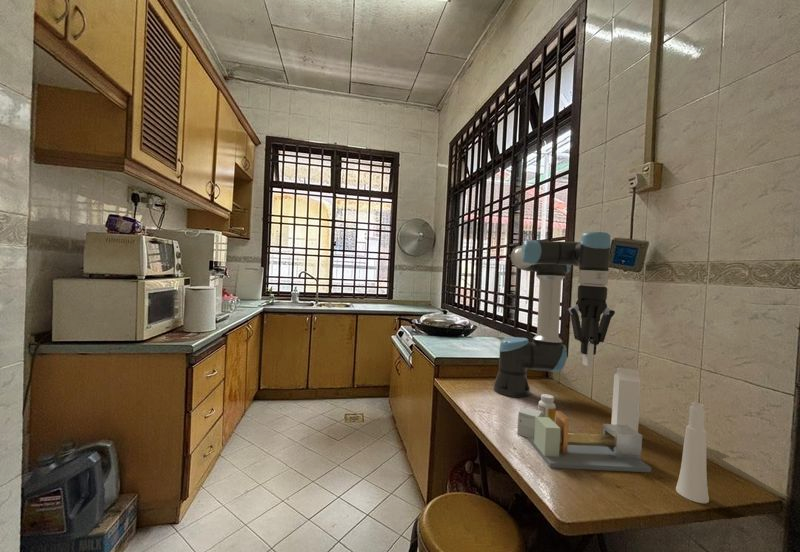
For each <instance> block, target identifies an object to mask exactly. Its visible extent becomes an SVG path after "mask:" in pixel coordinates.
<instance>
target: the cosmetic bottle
mask: <svg viewBox="0 0 800 552" xmlns="http://www.w3.org/2000/svg"><path fill="white" fill-rule="evenodd" d="M704 407H705V405H704V404H703V403H700V402H695V401H691V405H690V406H689V412H688V413H689V414H688V424H687V425H686V426H685V432H684V433H685V434H684V440H683V448H682V457H681V464H680V470H679V476H678V480H677V482H676V487H675V491H676V492H677V493H678V494H679V495H680V496H682V497H683V498H684V499H686V500H688V501H692V502H693V503H698V504H708V503H709V502H710V497H709V489H708V479H707V430H706V429H705V417H706V409H705V408H704Z"/></svg>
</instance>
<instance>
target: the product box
mask: <svg viewBox="0 0 800 552" xmlns="http://www.w3.org/2000/svg"><path fill="white" fill-rule="evenodd" d="M517 414H518V417H517V418H518V419H517V431H516V432H517V433H516V434H517V435H518V436H519V435H520V436H521V437H526V438H527V439H528V438H529V437H533V438H534V435H535V418H536V417H542V411H538V409H535V408H531V407H527V406H522V407H521V409H520V410H519V411H518V413H517Z"/></svg>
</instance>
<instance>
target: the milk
mask: <svg viewBox="0 0 800 552" xmlns="http://www.w3.org/2000/svg"><path fill="white" fill-rule="evenodd" d="M641 384H642V382H641V379H640V377H639V370H638V369H634V368H626V367H624V368H623V367H617V369H616V372H615V374H613V390H612V403H611V404H612V405H611V407H612V409H611V422H610V424H615V425H627V426H629V427H630V428H632V429H633V430H635V431H636V432H638V433H639V423H640V421H639V420H640V404H641V403H640V401H641V388H642V385H641Z"/></svg>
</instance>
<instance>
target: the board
mask: <svg viewBox="0 0 800 552" xmlns="http://www.w3.org/2000/svg"><path fill="white" fill-rule="evenodd" d="M528 441H529V443H530V444H531V446H532V447H533V448H534V450H535V451H536V452H537V453H538V454H539V456H540V457H541V458H542V459H543V461H544V462H545V463H546V464H547V466H548V467H549V468H551V469H569V470H573V469H574V470H592V471H593V470H594V471H595V470H596V471H612V472H613V471H615V472H616V471H617V472H636V473H637V472H638V473H652V467H651V466H650V465H649V464H647V463H646V462H644V461H643V460H642V459H641V460H632V459H616V458H614V457H613V456H612V455H611V454H610V453H608V452H607V451H606V450H605V449H604V448H603V447H600V446H579V445H568V448H567V454H562V453H561V451H560V450H559V457H556V456H544V455H543V453H542V452H541V451H540V450H539V449H538V447H537V446H536V445H535V444H534V438H533V437H529V439H528Z"/></svg>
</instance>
